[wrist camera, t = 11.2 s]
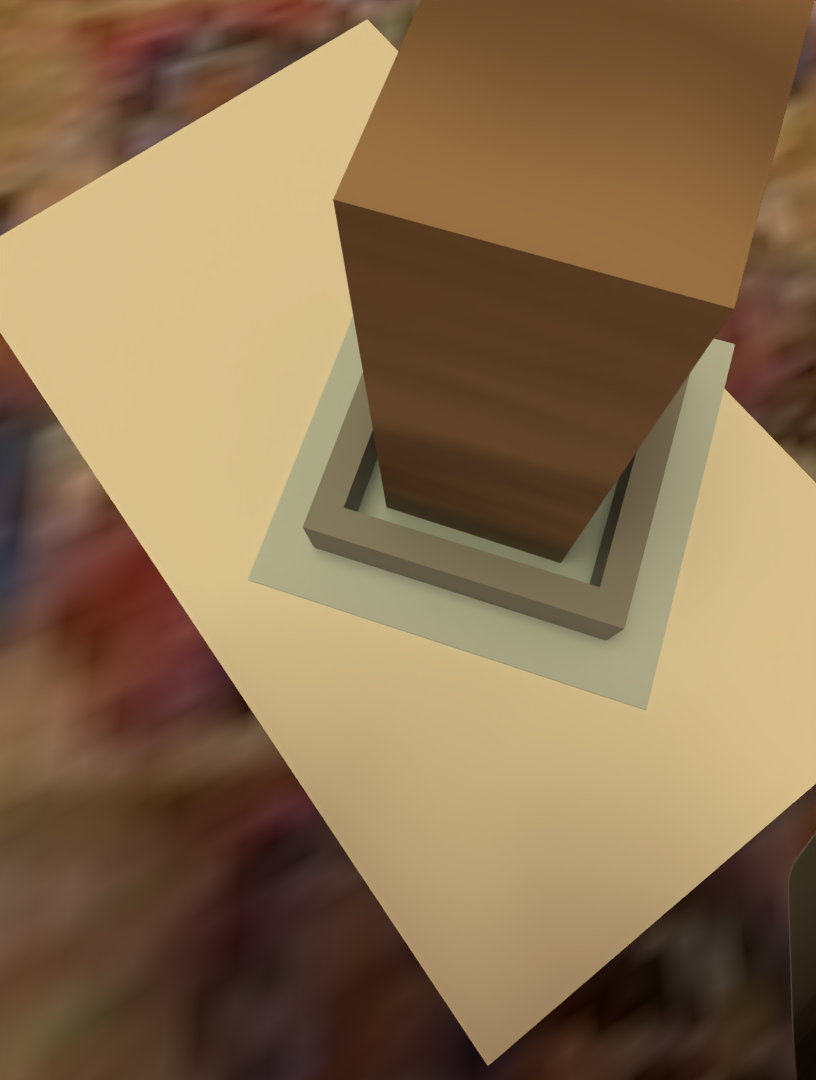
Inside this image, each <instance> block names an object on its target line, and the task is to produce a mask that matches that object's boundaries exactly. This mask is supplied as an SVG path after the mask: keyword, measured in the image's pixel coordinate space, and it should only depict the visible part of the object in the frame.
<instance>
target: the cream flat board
mask: <svg viewBox="0 0 816 1080" xmlns="http://www.w3.org/2000/svg"><path fill="white" fill-rule="evenodd" d="M397 54H398V51H397V50H396V49H395V48H394V47H393V46H392V45H391V44H390V43H389V41H388V40H387V39H386V38H385V37H384V36H383V35H382V34H381V33H380V32H379V31H378V30H377V29H376V28H375V27H374V26H373V25H372V24H371V23H370V22H369V21H368V20H366V21H364V22H362V23H361V24H359V25H357V26H355V27H354V28H352V29H350V30H349V31H347V32H345V33H344V34H342V35H340V36H338V37H337V38H335V39H333V40H332V41H330V42H328V43H327V44H325V45H323V46H322V47H320V48H318V49H316V50H315V51H313V52H311V53H310V54H308V55H306V56H305V57H303V58H301V59H300V60H298V61H296V62H294V63H293V64H291V65H289V66H288V67H286V68H284V69H283V70H281V71H279V72H278V73H276V74H274V75H272V76H271V77H269V78H267V79H266V80H264V81H262V82H261V83H259V84H257V85H256V86H254V87H252V88H250V89H249V90H247V91H245V92H244V93H242V94H240V95H239V96H237V97H235V98H234V99H232V100H230V101H228V102H227V103H225V104H223V105H222V106H220V107H218V108H217V109H215V110H213V111H212V112H210V113H208V114H206V115H205V116H203V117H201V118H200V119H198V120H196V121H195V122H193V123H191V124H190V125H188V126H186V127H184V128H183V129H181V130H179V131H178V132H176V133H174V134H173V135H171V136H169V137H168V138H166V139H164V140H162V141H161V142H159V143H157V144H156V145H154V146H152V147H151V148H149V149H147V150H145V151H144V152H142V153H140V154H139V155H137V156H135V157H134V158H132V159H130V160H129V161H127V162H125V163H123V164H122V165H120V166H118V167H117V168H115V169H113V170H112V171H110V172H108V173H107V174H105V175H103V176H101V177H100V178H98V179H96V180H95V181H93V182H91V183H90V184H88V185H86V186H85V187H83V188H81V189H79V190H78V191H76V192H74V193H73V194H71V195H69V196H68V197H66V198H64V199H63V200H61V201H59V202H57V203H56V204H54V205H52V206H51V207H49V208H47V209H46V210H44V211H42V212H41V213H39V214H37V215H35V216H34V217H32V218H30V219H29V220H27V221H25V222H24V223H22V224H20V225H19V226H17V227H15V228H13V229H12V230H10V231H8V232H7V233H5V234H3V235H2V236H0V333H1V334H2V336H3V337H4V339H5V340H6V342H7V343H8V345H9V346H10V348H11V349H12V351H13V352H14V354H15V355H16V357H17V358H18V360H19V361H20V363H21V364H22V366H23V367H24V369H25V370H26V372H27V373H28V375H29V376H30V378H31V379H32V381H33V382H34V384H35V385H36V387H37V388H38V390H39V391H40V393H41V394H42V396H43V397H44V399H45V400H46V402H47V403H48V405H49V406H50V408H51V409H52V411H53V412H54V414H55V415H56V417H57V418H58V420H59V421H60V423H61V424H62V426H63V427H64V429H65V430H66V432H67V433H68V435H69V436H70V438H71V440H72V441H73V443H74V444H75V446H76V447H77V449H78V450H79V452H80V453H81V455H82V456H83V458H84V459H85V461H86V462H87V464H88V465H89V467H90V468H91V470H92V471H93V473H94V474H95V476H96V477H97V479H98V480H99V482H100V483H101V485H102V486H103V488H104V489H105V491H106V492H107V494H108V495H109V497H110V498H111V500H112V501H113V503H114V504H115V506H116V507H117V509H118V510H119V512H120V513H121V515H122V516H123V518H124V519H125V521H126V522H127V524H128V525H129V527H130V528H131V530H132V531H133V533H134V534H135V536H136V537H137V539H138V540H139V542H140V543H141V545H142V546H143V548H144V549H145V551H146V552H147V554H148V555H149V557H150V558H151V560H152V561H153V563H154V564H155V566H156V567H157V569H158V570H159V572H160V573H161V575H162V576H163V578H164V579H165V581H166V582H167V584H168V585H169V587H170V588H171V590H172V592H173V593H174V595H175V596H176V598H177V599H178V601H179V602H180V604H181V605H182V607H183V608H184V610H185V611H186V613H187V614H188V616H189V617H190V619H191V620H192V622H193V623H194V625H195V626H196V628H197V629H198V631H199V632H200V634H201V635H202V637H203V638H204V640H205V641H206V643H207V644H208V646H209V647H210V649H211V650H212V652H213V653H214V655H215V656H216V658H217V659H218V661H219V662H220V664H221V665H222V667H223V668H224V670H225V671H226V673H227V674H228V676H229V677H230V679H231V680H232V682H233V683H234V685H235V686H236V688H237V689H238V691H239V692H240V694H241V695H242V697H243V698H244V700H245V701H246V703H247V704H248V706H249V707H250V709H251V710H252V712H253V713H254V715H255V716H256V718H257V719H258V721H259V722H260V724H261V725H262V727H263V728H264V730H265V731H266V733H267V734H268V736H269V737H270V739H271V740H272V742H273V743H274V745H275V747H276V748H277V750H278V751H279V753H280V754H281V756H282V757H283V759H284V760H285V762H286V763H287V765H288V766H289V768H290V769H291V771H292V772H293V774H294V775H295V777H296V778H297V780H298V781H299V783H300V784H301V786H302V787H303V789H304V790H305V792H306V793H307V795H308V796H309V798H310V799H311V801H312V802H313V804H314V805H315V807H316V808H317V810H318V811H319V813H320V814H321V816H322V817H323V819H324V820H325V822H326V823H327V825H328V826H329V828H330V829H331V831H332V832H333V834H334V835H335V837H336V838H337V840H338V841H339V843H340V844H341V846H342V847H343V849H344V850H345V852H346V853H347V855H348V856H349V858H350V859H351V861H352V862H353V864H354V865H355V867H356V868H357V870H358V871H359V873H360V874H361V876H362V877H363V879H364V880H365V882H366V883H367V885H368V886H369V888H370V889H371V891H372V892H373V894H374V895H375V897H376V898H377V900H378V902H379V903H380V905H381V906H382V908H383V909H384V911H385V912H386V914H387V915H388V917H389V918H390V920H391V921H392V923H393V924H394V926H395V927H396V929H397V930H398V932H399V933H400V935H401V936H402V938H403V939H404V941H405V942H406V944H407V945H408V947H409V948H410V950H411V951H412V953H413V954H414V956H415V957H416V959H417V960H418V962H419V963H420V965H421V966H422V968H423V969H424V971H425V972H426V974H427V975H428V977H429V978H430V980H431V981H432V983H433V984H434V986H435V987H436V989H437V990H438V992H439V993H440V995H441V996H442V998H443V999H444V1001H445V1002H446V1004H447V1005H448V1007H449V1008H450V1010H451V1011H452V1013H453V1014H454V1016H455V1017H456V1019H457V1020H458V1022H459V1023H460V1025H461V1026H462V1028H463V1029H464V1031H465V1032H466V1034H467V1035H468V1037H469V1038H470V1040H471V1041H472V1043H473V1044H474V1046H475V1047H476V1049H477V1050H478V1052H479V1053H480V1055H481V1057H482V1058H483V1060H484V1061H485V1063H486V1064H487V1066H489V1065H490V1064H491V1063H492V1062H493V1061H494V1060H496V1059H497V1058H498V1057H499V1056H500V1055H501V1054H503V1053H504V1052H505V1051H506V1050H507V1049H508V1048H509V1047H511V1046H512V1045H513V1044H514V1043H515V1042H516V1041H518V1040H519V1039H520V1038H521V1037H522V1036H523V1035H525V1034H526V1033H527V1032H528V1031H529V1030H530V1029H532V1028H533V1027H534V1026H535V1025H536V1024H537V1023H538V1022H540V1021H541V1020H542V1019H543V1018H544V1017H545V1016H547V1015H548V1014H549V1013H550V1012H551V1011H552V1010H554V1009H555V1008H556V1007H557V1006H558V1005H559V1004H560V1003H562V1002H563V1001H564V1000H565V999H566V998H567V997H569V996H570V995H571V994H572V993H573V992H574V991H576V990H577V989H578V988H579V987H580V986H581V985H583V984H584V983H585V982H586V981H587V980H588V979H589V978H591V977H592V976H593V975H594V974H595V973H596V972H598V971H599V970H600V969H601V968H602V967H603V966H605V965H606V964H607V963H608V962H609V961H610V960H612V959H613V958H614V957H615V956H616V955H617V954H618V953H620V952H621V951H622V950H623V949H624V948H625V947H627V946H628V945H629V944H630V943H631V942H632V941H634V940H635V939H636V938H637V937H638V936H639V935H640V934H642V933H643V932H644V931H645V930H646V929H647V928H649V927H650V926H651V925H652V924H653V923H654V922H656V921H657V920H658V919H659V918H660V917H661V916H663V915H664V914H665V913H666V912H667V911H668V910H669V909H671V908H672V907H673V906H674V905H675V904H676V903H678V902H679V901H680V900H681V899H682V898H683V897H685V896H686V895H687V894H688V893H689V892H690V891H692V890H693V889H694V888H695V887H696V886H697V885H698V884H700V883H701V882H702V881H703V880H704V879H705V878H707V877H708V876H709V875H710V874H711V873H712V872H714V871H715V870H716V869H717V868H718V867H719V866H720V865H722V864H723V863H724V862H725V861H726V860H727V859H729V858H730V857H731V856H732V855H733V854H734V853H736V852H737V851H738V850H739V849H740V848H741V847H743V846H744V845H745V844H746V843H747V842H748V841H749V840H751V839H752V838H753V837H754V836H755V835H756V834H758V833H759V832H760V831H761V830H762V829H763V828H765V827H766V826H767V825H768V824H769V823H770V822H772V821H773V820H774V819H775V818H776V817H777V816H778V815H780V814H781V813H782V812H783V811H784V810H785V809H787V808H788V807H789V806H790V805H791V804H792V803H794V802H795V801H796V800H797V799H798V798H799V797H800V796H802V795H803V794H804V793H805V792H806V791H807V790H809V789H810V788H811V787H812V786H813V785H814V784H816V483H815V482H814V481H813V480H812V479H811V478H810V477H809V476H808V475H807V474H806V472H805V471H804V470H803V469H802V468H801V467H800V466H799V465H798V464H797V463H796V462H795V461H794V460H793V459H792V458H791V457H790V456H789V455H788V454H787V453H786V452H785V451H784V450H783V449H782V448H781V447H780V446H779V445H778V444H777V443H776V441H775V440H774V439H773V438H772V437H771V436H770V435H769V434H768V433H767V432H766V431H765V430H764V429H763V428H762V427H761V426H760V425H759V424H758V423H757V422H756V421H755V420H754V419H753V418H752V417H751V416H750V415H749V414H748V413H747V412H746V410H745V409H744V408H743V407H742V406H741V405H740V404H739V403H738V402H737V401H736V400H735V399H734V398H733V397H732V396H731V395H730V394H729V393H728V392H727V391H726V390H725V389H724V387H725V383H726V379H727V375H728V371H729V367H730V363H731V359H732V354H733V350H734V346H735V344H732V343H728V342H724V341H721V340H717V339H713V340H712V342H711V343H710V345H709V346H708V348H707V349H706V351H705V352H704V354H703V355H702V356H701V358H700V359H699V361H698V362H697V364H696V365H695V367H694V368H693V370H692V371H691V373H690V374H689V376H688V377H687V379H686V380H685V381H684V383H683V384H682V386H681V387H680V389H679V390H678V392H677V393H676V395H675V396H674V398H673V399H672V401H671V402H670V403H669V405H668V406H667V408H666V409H665V411H664V412H663V414H662V415H661V417H660V418H659V420H658V421H657V423H656V424H655V426H654V427H653V428H652V430H651V431H650V433H649V434H648V436H647V437H646V439H645V440H644V442H643V443H642V445H641V446H640V448H639V449H638V450H637V452H636V453H635V455H634V456H633V458H632V459H631V461H630V462H629V464H628V465H627V467H626V468H625V470H624V471H623V473H622V474H621V475H620V477H619V478H618V480H617V481H616V483H615V484H614V486H613V487H612V489H611V490H610V492H609V493H608V495H607V496H606V498H605V499H604V500H603V502H602V503H601V505H600V506H599V508H598V509H597V511H596V512H595V514H594V515H593V517H592V518H591V520H590V521H589V522H588V524H587V525H586V527H585V528H584V530H583V531H582V533H581V534H580V536H579V537H578V539H577V540H576V542H575V543H574V545H573V546H572V547H571V549H570V550H569V552H568V553H567V555H566V556H565V558H564V559H563V561H562V562H561V563H558V562H555V561H552V560H549V559H546V558H542V557H539V556H536V555H533V554H530V553H527V552H524V551H521V550H518V549H514V548H511V547H508V546H505V545H502V544H499V543H496V542H493V541H490V540H486V539H483V538H480V537H477V536H474V535H471V534H468V533H465V532H461V531H458V530H455V529H452V528H449V527H446V526H443V525H440V524H437V523H433V522H430V521H427V520H424V519H421V518H418V517H415V516H412V515H408V514H405V513H402V512H399V511H396V510H393V509H390V508H387V507H386V502H385V496H384V491H383V485H382V479H381V473H380V468H379V462H378V456H377V450H376V445H375V439H374V433H373V427H372V421H371V416H370V410H369V404H368V398H367V393H366V387H365V381H364V375H363V370H362V364H361V358H360V352H359V346H358V341H357V335H356V329H355V323H354V318H353V312H352V306H351V300H350V295H349V289H348V283H347V277H346V271H345V266H344V260H343V254H342V248H341V243H340V237H339V231H338V225H337V219H336V214H335V208H334V202H333V198H334V196H335V194H336V192H337V189H338V187H339V185H340V183H341V180H342V178H343V176H344V173H345V171H346V169H347V167H348V164H349V162H350V160H351V158H352V155H353V153H354V151H355V149H356V146H357V144H358V142H359V140H360V137H361V135H362V133H363V131H364V128H365V126H366V124H367V122H368V119H369V117H370V115H371V112H372V110H373V108H374V106H375V103H376V101H377V99H378V97H379V94H380V92H381V90H382V88H383V85H384V83H385V81H386V79H387V76H388V74H389V72H390V70H391V67H392V65H393V63H394V61H395V58H396V56H397Z"/></svg>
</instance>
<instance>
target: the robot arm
mask: <svg viewBox="0 0 816 1080" xmlns="http://www.w3.org/2000/svg"><path fill="white" fill-rule="evenodd" d="M788 906H789V940H790V973H791V1007H792V1030H793V1047H794V1056H795V1065H796V1074H797V1080H816V832H815V834H814V835H813V836H812V838H811V839H810V841H809V842H808V843H807V845H806V846H805V848H804V849H803V850H802V852H801V853H800V854H799V856H798V857H797V859H796V860H795V862H794V864H793V866H792V868H791V871H790V875H789V881H788Z"/></svg>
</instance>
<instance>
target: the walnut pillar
mask: <svg viewBox="0 0 816 1080" xmlns="http://www.w3.org/2000/svg"><path fill="white" fill-rule="evenodd" d="M813 4H814V0H421V2H420V4H419V6H418V9H417V11H416V13H415V15H414V18H413V20H412V22H411V24H410V27H409V29H408V31H407V33H406V36H405V38H404V40H403V42H402V45H401V47H400V49H399V52H398V54H397V56H396V58H395V61H394V63H393V65H392V67H391V70H390V72H389V74H388V76H387V79H386V81H385V83H384V85H383V88H382V90H381V92H380V94H379V97H378V99H377V101H376V103H375V106H374V108H373V110H372V112H371V115H370V117H369V119H368V122H367V124H366V126H365V128H364V131H363V133H362V135H361V137H360V140H359V142H358V144H357V146H356V149H355V151H354V153H353V155H352V158H351V160H350V162H349V164H348V167H347V169H346V171H345V173H344V176H343V178H342V180H341V183H340V185H339V187H338V189H337V192H336V194H335V196H334V198H333V202H334V208H335V214H336V219H337V225H338V231H339V237H340V243H341V248H342V254H343V260H344V266H345V271H346V277H347V283H348V289H349V295H350V300H351V306H352V312H353V318H354V323H355V329H356V335H357V341H358V346H359V352H360V358H361V364H362V370H363V375H364V381H365V387H366V393H367V398H368V404H369V410H370V416H371V421H372V427H373V433H374V439H375V445H376V450H377V456H378V462H379V468H380V473H381V479H382V485H383V491H384V496H385V502H386V507H387V508H390V509H393V510H396V511H399V512H402V513H405V514H408V515H412V516H415V517H418V518H421V519H424V520H427V521H430V522H433V523H437V524H440V525H443V526H446V527H449V528H452V529H455V530H458V531H461V532H465V533H468V534H471V535H474V536H477V537H480V538H483V539H486V540H490V541H493V542H496V543H499V544H502V545H505V546H508V547H511V548H514V549H518V550H521V551H524V552H527V553H530V554H533V555H536V556H539V557H542V558H546V559H549V560H552V561H555V562H558V563H561V562H562V561H563V559H564V558H565V556H566V555H567V553H568V552H569V550H570V549H571V547H572V546H573V545H574V543H575V542H576V540H577V539H578V537H579V536H580V534H581V533H582V531H583V530H584V528H585V527H586V525H587V524H588V522H589V521H590V520H591V518H592V517H593V515H594V514H595V512H596V511H597V509H598V508H599V506H600V505H601V503H602V502H603V500H604V499H605V498H606V496H607V495H608V493H609V492H610V490H611V489H612V487H613V486H614V484H615V483H616V481H617V480H618V478H619V477H620V475H621V474H622V473H623V471H624V470H625V468H626V467H627V465H628V464H629V462H630V461H631V459H632V458H633V456H634V455H635V453H636V452H637V450H638V449H639V448H640V446H641V445H642V443H643V442H644V440H645V439H646V437H647V436H648V434H649V433H650V431H651V430H652V428H653V427H654V426H655V424H656V423H657V421H658V420H659V418H660V417H661V415H662V414H663V412H664V411H665V409H666V408H667V406H668V405H669V403H670V402H671V401H672V399H673V398H674V396H675V395H676V393H677V392H678V390H679V389H680V387H681V386H682V384H683V383H684V381H685V380H686V379H687V377H688V376H689V374H690V373H691V371H692V370H693V368H694V367H695V365H696V364H697V362H698V361H699V359H700V358H701V356H702V355H703V354H704V352H705V351H706V349H707V348H708V346H709V345H710V343H711V342H712V340H713V339H714V337H715V336H716V334H717V333H718V331H719V330H720V329H721V327H722V326H723V324H724V323H725V321H726V320H727V318H728V317H729V315H730V314H731V312H732V311H733V309H734V307H735V303H736V299H737V295H738V291H739V287H740V284H741V280H742V276H743V272H744V268H745V264H746V261H747V257H748V253H749V249H750V245H751V241H752V238H753V234H754V230H755V226H756V222H757V218H758V215H759V211H760V207H761V203H762V199H763V195H764V192H765V188H766V184H767V180H768V176H769V172H770V169H771V165H772V161H773V157H774V153H775V149H776V146H777V142H778V138H779V134H780V130H781V126H782V123H783V119H784V115H785V111H786V107H787V103H788V100H789V96H790V92H791V88H792V84H793V80H794V77H795V73H796V69H797V65H798V61H799V57H800V54H801V50H802V46H803V42H804V38H805V34H806V30H807V27H808V23H809V19H810V15H811V11H812V7H813Z"/></svg>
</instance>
